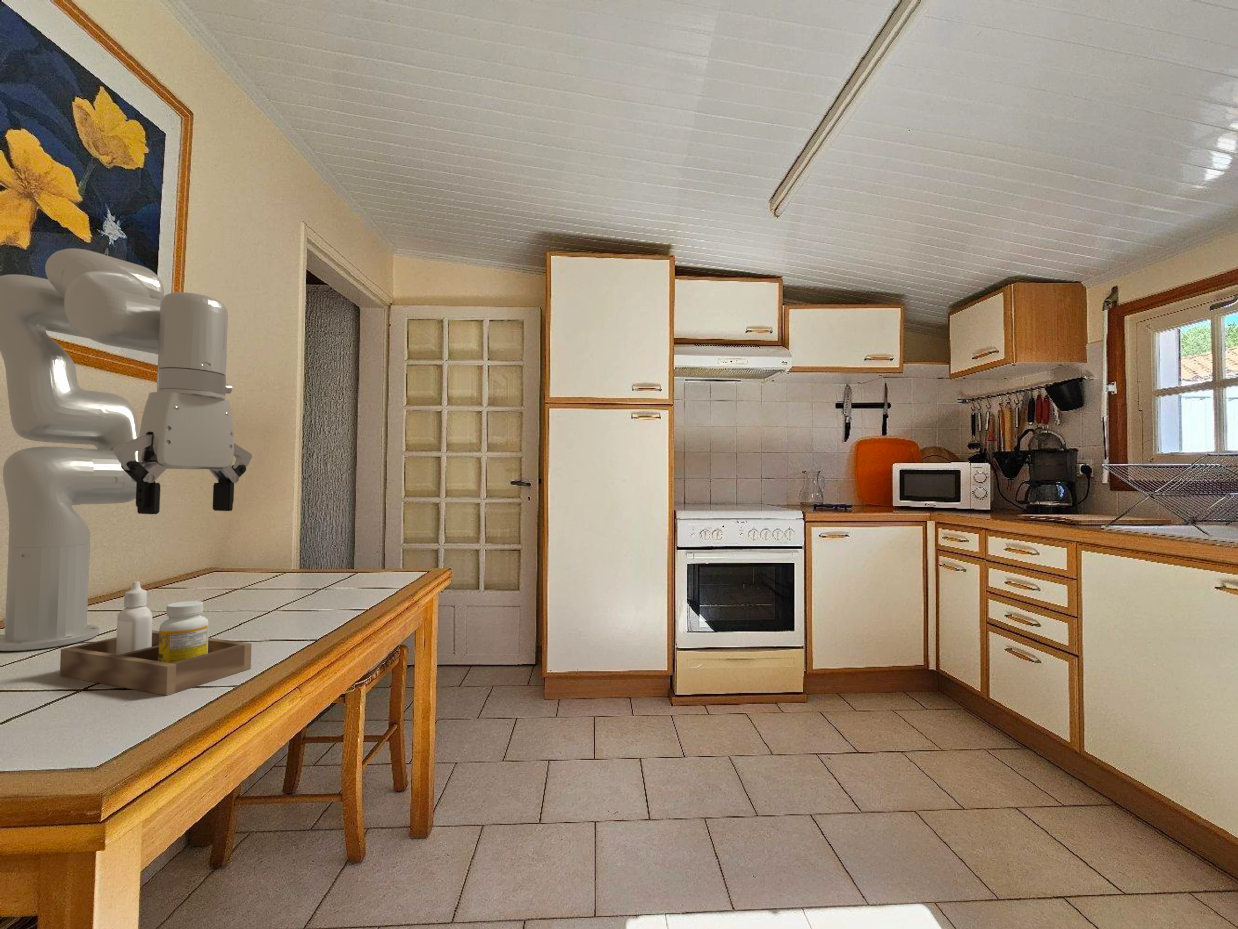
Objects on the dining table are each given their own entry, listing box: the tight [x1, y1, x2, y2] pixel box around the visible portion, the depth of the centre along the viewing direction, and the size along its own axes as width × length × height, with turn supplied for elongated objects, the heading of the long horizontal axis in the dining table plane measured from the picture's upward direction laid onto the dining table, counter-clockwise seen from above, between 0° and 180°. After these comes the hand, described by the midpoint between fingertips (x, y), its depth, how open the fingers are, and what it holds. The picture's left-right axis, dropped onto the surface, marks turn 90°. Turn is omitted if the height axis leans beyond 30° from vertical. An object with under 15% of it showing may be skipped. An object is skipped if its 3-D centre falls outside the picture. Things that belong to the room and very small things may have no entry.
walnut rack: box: [59, 629, 252, 696], centre depth 79 cm, size 21×11×4 cm, turn 71°
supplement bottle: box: [158, 600, 210, 663], centre depth 78 cm, size 5×5×10 cm
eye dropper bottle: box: [116, 580, 153, 655], centre depth 81 cm, size 4×6×12 cm
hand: (187, 512), depth 78 cm, fingers open, 9 cm apart
